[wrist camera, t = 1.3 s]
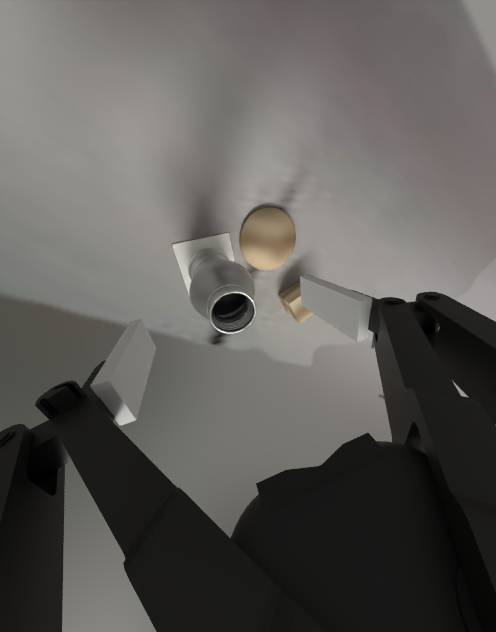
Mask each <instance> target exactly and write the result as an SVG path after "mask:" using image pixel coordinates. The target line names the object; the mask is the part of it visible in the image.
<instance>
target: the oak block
mask: <svg viewBox="0 0 496 632" xmlns="http://www.w3.org/2000/svg"><path fill="white" fill-rule="evenodd" d="M278 296H279V298H280V300H281V302H282V304H283V306H284V308H285V310H286V312H287V313H288V314H289V315H290V316H291V317H292V318H293V319H294V320H296V321H297V322H298V323H299V324H300V323H301V322H303V321H304V320H306V319H307V318H309V317H310V316H312V315H313V314H314V313H312V312H311V311H309V310H308V309H306V308H305V307H303V306H302V305H301V287H300V282H297V283H296V284H294V285H293V286H291V287H290V288H288V289H287V290H285V291H284V292H282V293H281V294H279V295H278Z"/></svg>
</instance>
